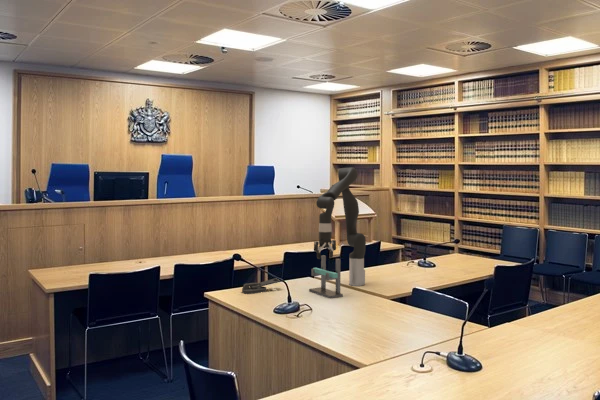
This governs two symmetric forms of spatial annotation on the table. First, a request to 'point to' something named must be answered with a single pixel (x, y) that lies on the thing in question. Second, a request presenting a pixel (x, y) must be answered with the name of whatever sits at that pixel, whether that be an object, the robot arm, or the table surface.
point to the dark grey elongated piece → (257, 286)
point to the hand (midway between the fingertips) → (324, 258)
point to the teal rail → (323, 272)
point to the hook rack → (322, 289)
